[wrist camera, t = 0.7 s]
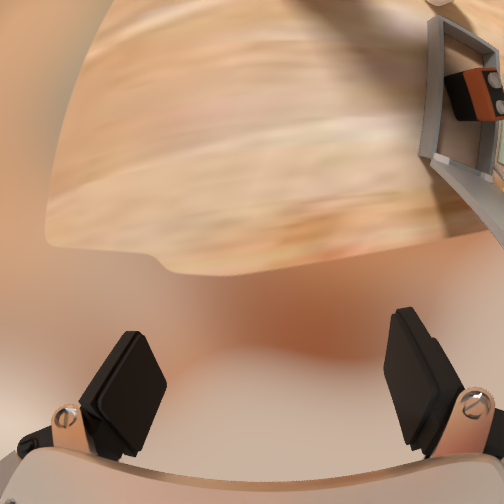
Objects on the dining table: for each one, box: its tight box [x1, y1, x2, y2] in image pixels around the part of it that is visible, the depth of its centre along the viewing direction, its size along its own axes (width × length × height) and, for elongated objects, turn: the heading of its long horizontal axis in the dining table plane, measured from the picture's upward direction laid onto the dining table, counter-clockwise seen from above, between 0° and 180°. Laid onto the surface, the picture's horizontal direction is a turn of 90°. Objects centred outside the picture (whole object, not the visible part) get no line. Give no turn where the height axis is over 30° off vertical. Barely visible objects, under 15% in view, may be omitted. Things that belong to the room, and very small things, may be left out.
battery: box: [444, 67, 504, 121], centre depth 23 cm, size 4×7×10 cm, turn 22°
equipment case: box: [418, 15, 504, 183], centre depth 23 cm, size 23×12×11 cm, turn 173°
